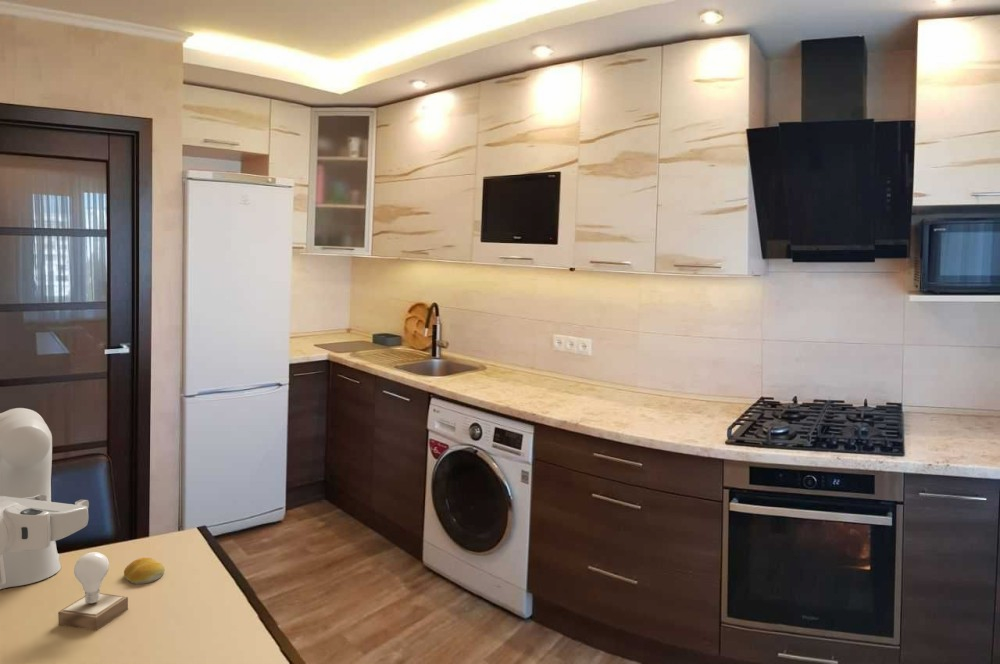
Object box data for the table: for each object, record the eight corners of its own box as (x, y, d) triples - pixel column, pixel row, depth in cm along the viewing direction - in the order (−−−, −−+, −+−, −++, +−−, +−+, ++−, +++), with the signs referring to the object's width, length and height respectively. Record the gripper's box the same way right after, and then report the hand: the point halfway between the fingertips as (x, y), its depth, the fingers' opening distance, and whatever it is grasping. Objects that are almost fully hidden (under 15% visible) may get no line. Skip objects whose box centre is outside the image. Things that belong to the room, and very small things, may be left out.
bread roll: (136, 588, 160) (136, 572, 159) (119, 576, 165) (118, 561, 165) (171, 576, 166) (171, 560, 166) (154, 565, 172) (153, 550, 171)
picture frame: (58, 624, 143) (58, 610, 142) (91, 604, 151) (91, 591, 151) (96, 630, 141) (96, 616, 141) (127, 609, 150) (127, 596, 150)
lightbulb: (68, 605, 145) (67, 555, 144) (98, 593, 150) (97, 544, 149) (86, 613, 142) (85, 562, 141) (116, 600, 147) (115, 551, 146)
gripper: (-48, 537, 124) (19, 511, 137) (51, 550, 120) (109, 522, 134) (-49, 503, 123) (18, 480, 136) (50, 515, 119) (109, 490, 133)
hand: (64, 501), depth 135 cm, fingers open, 8 cm apart
